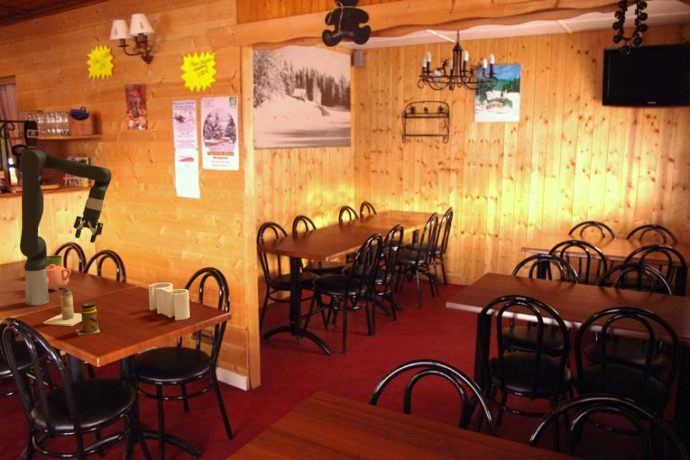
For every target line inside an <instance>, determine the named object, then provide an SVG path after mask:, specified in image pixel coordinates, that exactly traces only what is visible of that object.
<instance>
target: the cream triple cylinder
mask: <svg viewBox="0 0 690 460" xmlns="http://www.w3.org/2000/svg"><path fill="white" fill-rule="evenodd" d="M148 297H149V310H150V311H155V310H156V313H157V314H162V315H165V316H166V317H168V318H172V317H174V321H180V320H187V319H189V318H190V297H189V290H188V289H186V288H185V289H184V288H176V289H174V284H173V283H171V282H157V283H156V282H155V283H153V284H149V285H148Z"/></svg>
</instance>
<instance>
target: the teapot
mask: <svg viewBox="0 0 690 460" xmlns="http://www.w3.org/2000/svg"><path fill="white" fill-rule="evenodd" d="M46 273H47V284H48V290H53V291H54V292H59V291H61V289H64V288H66V287H67V285H68V284H69V280H70V278H69V277H70V276H71V274H72V269H70V268H65V266H64V265H63V266H62V265H61V266H55V264H51V265H49V266H48V267H46Z"/></svg>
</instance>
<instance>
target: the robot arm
mask: <svg viewBox="0 0 690 460" xmlns="http://www.w3.org/2000/svg"><path fill="white" fill-rule="evenodd" d="M19 161H20V171H21V179H22V180H21V182H22V184H21V232H20V233H21V234H20V243H19V250H20V252H21V254H22V255H23V256H24V257H26V261H25V264H24V265H23V267H24V275H25V278H24V279H25V284H24V287H23V288H24V296H25V297H24V298H25V304H26V305H28V306H42V305H46V304H48V303H50V300H49V289H48V284H47V273H46V263H47V256H48V250H47V249H48V248H47V243H46V241H45V239H44V238H43V237H42V236H39V227H40V224H41V220H42V218H43V214H44V209H45V206H44V198H45V197H44V193H43V190H42V187H41V184H40V169H49V170H54V171H59V172H62V173H64V174H67V175H69V176H73V177H78V178H83V179H87V180H91V181H94V183H93V184H92V186H91V187H90V189H89V192H88V196H87V199H86V202H85V205H84V208H83V213H82V215H81V216H79V215H77V216H76V218H75V220H74V223H73V228H74V229H75V230H76V231H75V234H74V236H75V239H80V237H81V234H82V230H83V229H85V228H87V229H88V230H90V232H91V235H90V236H91V237H90V240H89V243H91V244H94V243H96V239H97V236H101V235H102V231H103V226H104V223H103V222H99V219H100V216H101V213H102V209H103V206H104V201H105V197H106V193H107V190H108V187H109V186H110V183H111V181H112V178H113V177H112V172H111V170H110V169H109V168H106V167H104V166H103V167H102V166H98V165H93V164H92V165H91V164H88V163H85V162H80V161H77V160H71V159H66V158H63V157H58V156H55V155H52V154H49V153H47V152H45V151H42V150H40V149H36V148H35V149H34V148H33V149H25V151H23V152H22V154H21V156H20V160H19Z"/></svg>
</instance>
